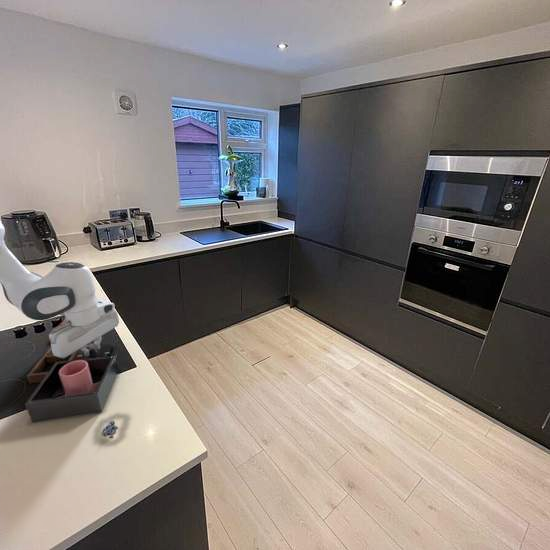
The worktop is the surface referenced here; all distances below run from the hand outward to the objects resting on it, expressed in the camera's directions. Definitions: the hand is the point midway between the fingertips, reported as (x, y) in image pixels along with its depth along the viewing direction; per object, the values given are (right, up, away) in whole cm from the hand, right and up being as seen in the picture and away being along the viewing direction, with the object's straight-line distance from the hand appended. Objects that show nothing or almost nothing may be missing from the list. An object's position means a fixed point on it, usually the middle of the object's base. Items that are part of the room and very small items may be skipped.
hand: (92, 352), depth 92 cm
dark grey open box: (+4, -9, -12) cm, 16 cm away
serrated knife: (-25, +5, +22) cm, 34 cm away
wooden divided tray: (-10, -4, 0) cm, 11 cm away
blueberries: (+19, -14, -22) cm, 32 cm away
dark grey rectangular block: (0, -1, 0) cm, 1 cm away
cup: (+5, -8, -12) cm, 16 cm away
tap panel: (0, -4, +1) cm, 4 cm away
